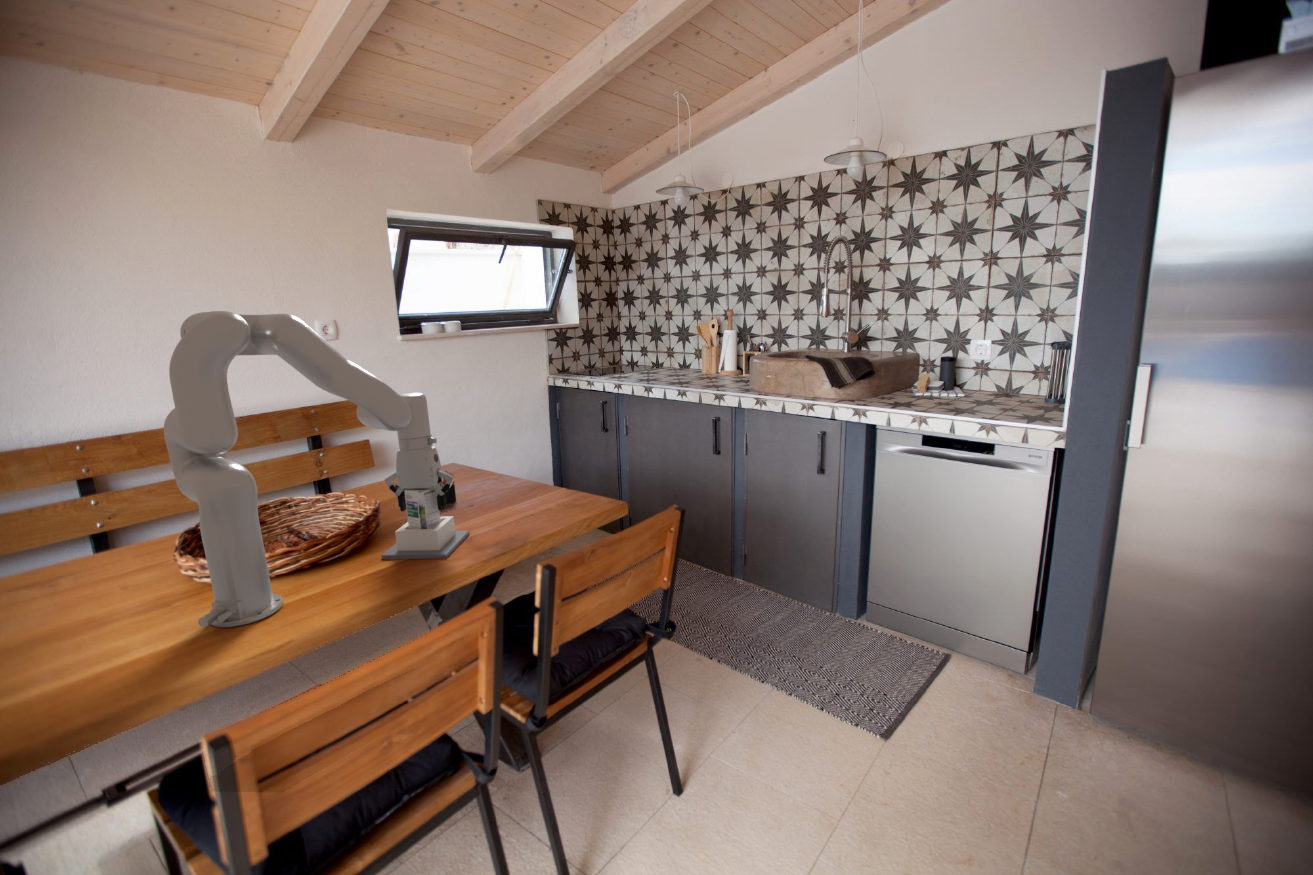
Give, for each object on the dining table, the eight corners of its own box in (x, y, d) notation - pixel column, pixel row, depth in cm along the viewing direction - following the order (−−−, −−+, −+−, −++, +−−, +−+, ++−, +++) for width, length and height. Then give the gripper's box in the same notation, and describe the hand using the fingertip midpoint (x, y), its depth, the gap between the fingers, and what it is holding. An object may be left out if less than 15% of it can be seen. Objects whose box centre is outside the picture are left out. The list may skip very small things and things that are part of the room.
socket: (446, 558, 147) (443, 534, 146) (382, 559, 148) (378, 535, 147) (469, 533, 163) (467, 512, 161) (411, 534, 163) (408, 513, 162)
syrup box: (409, 544, 154) (402, 489, 151) (427, 536, 159) (421, 483, 156) (426, 547, 151) (419, 492, 148) (443, 539, 156) (437, 485, 153)
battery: (429, 504, 189) (426, 473, 187) (449, 499, 194) (446, 468, 192) (436, 507, 186) (433, 475, 184) (457, 501, 191) (453, 470, 189)
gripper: (455, 439, 153) (462, 504, 156) (388, 440, 154) (397, 505, 157) (443, 445, 145) (451, 513, 149) (373, 447, 146) (382, 515, 150)
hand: (423, 509), depth 153 cm, fingers open, 9 cm apart
